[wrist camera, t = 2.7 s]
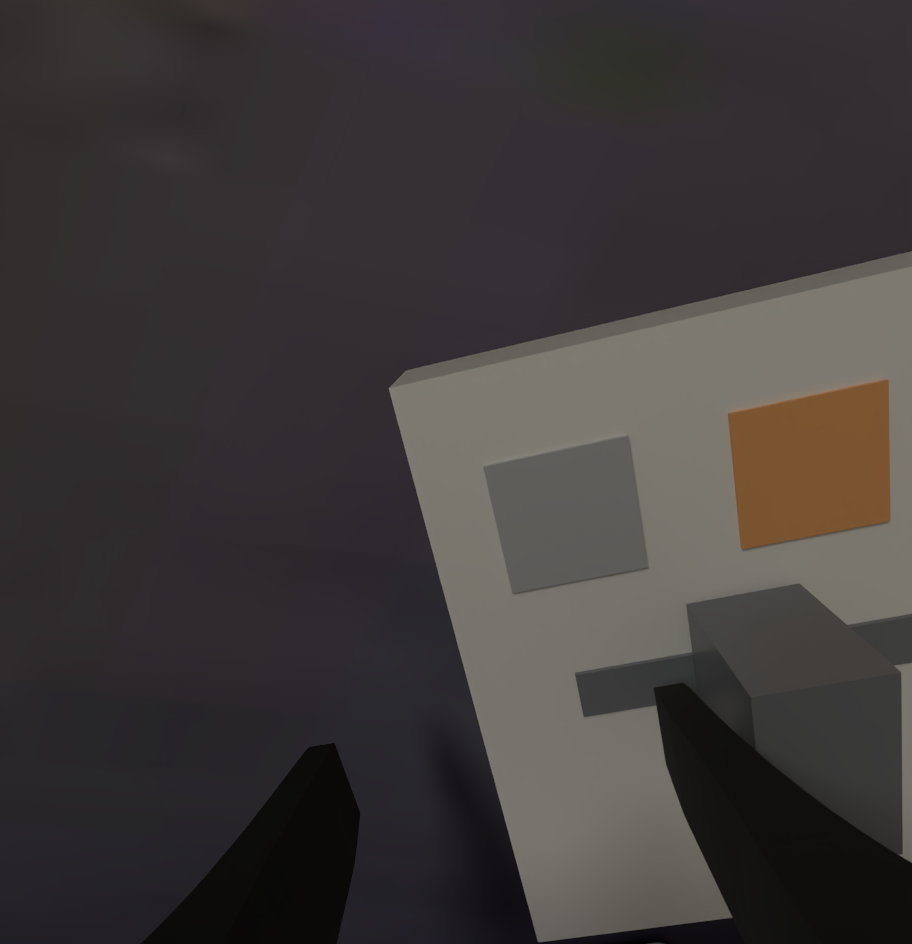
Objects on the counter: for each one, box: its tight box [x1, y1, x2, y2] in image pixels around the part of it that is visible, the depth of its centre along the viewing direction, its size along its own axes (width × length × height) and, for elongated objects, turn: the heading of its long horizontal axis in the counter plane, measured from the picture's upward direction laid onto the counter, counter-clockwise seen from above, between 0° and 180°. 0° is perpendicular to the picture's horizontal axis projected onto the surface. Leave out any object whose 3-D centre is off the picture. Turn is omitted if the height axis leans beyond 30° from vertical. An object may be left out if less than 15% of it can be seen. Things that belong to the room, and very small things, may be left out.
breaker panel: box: [389, 251, 912, 942], centre depth 14 cm, size 16×14×3 cm
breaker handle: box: [686, 583, 903, 855], centre depth 11 cm, size 4×2×3 cm, turn 13°
